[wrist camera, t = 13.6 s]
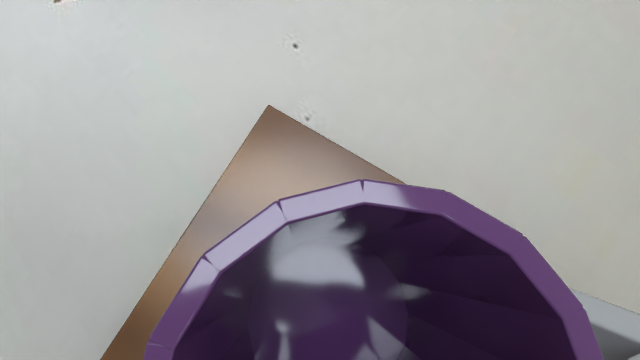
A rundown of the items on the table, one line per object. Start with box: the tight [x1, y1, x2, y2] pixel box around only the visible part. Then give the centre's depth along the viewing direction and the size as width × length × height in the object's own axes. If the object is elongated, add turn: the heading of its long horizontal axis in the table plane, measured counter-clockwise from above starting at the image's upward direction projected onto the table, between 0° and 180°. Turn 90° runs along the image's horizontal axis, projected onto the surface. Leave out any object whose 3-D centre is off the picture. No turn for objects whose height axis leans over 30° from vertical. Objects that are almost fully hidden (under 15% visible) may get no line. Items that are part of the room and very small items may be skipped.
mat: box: [101, 105, 407, 360], centre depth 21 cm, size 16×16×1 cm
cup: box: [143, 179, 604, 360], centre depth 10 cm, size 7×7×10 cm
